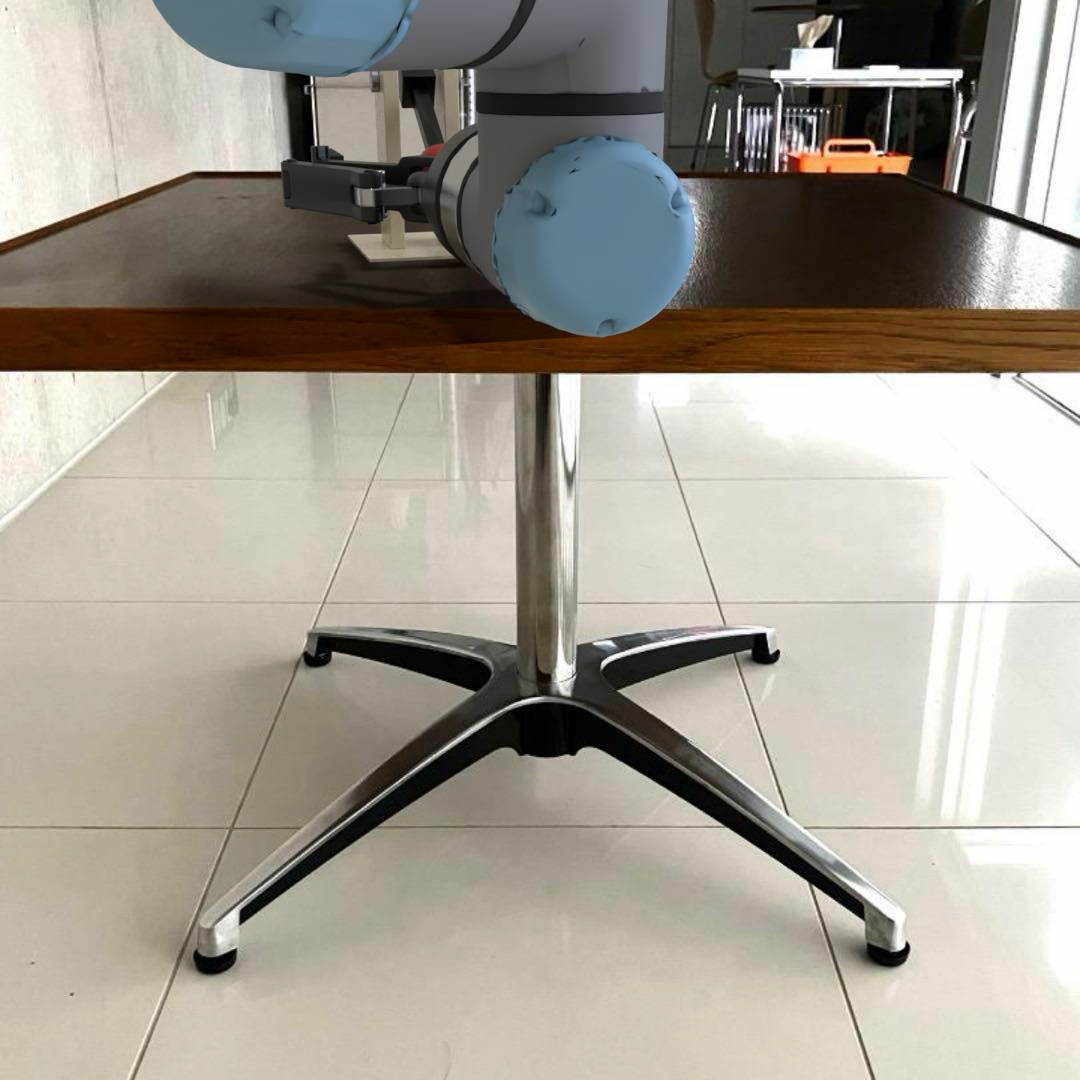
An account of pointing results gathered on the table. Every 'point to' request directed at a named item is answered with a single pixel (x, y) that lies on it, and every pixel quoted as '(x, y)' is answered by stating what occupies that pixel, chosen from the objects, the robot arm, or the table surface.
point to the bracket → (446, 107)
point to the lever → (422, 106)
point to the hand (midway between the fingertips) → (433, 168)
